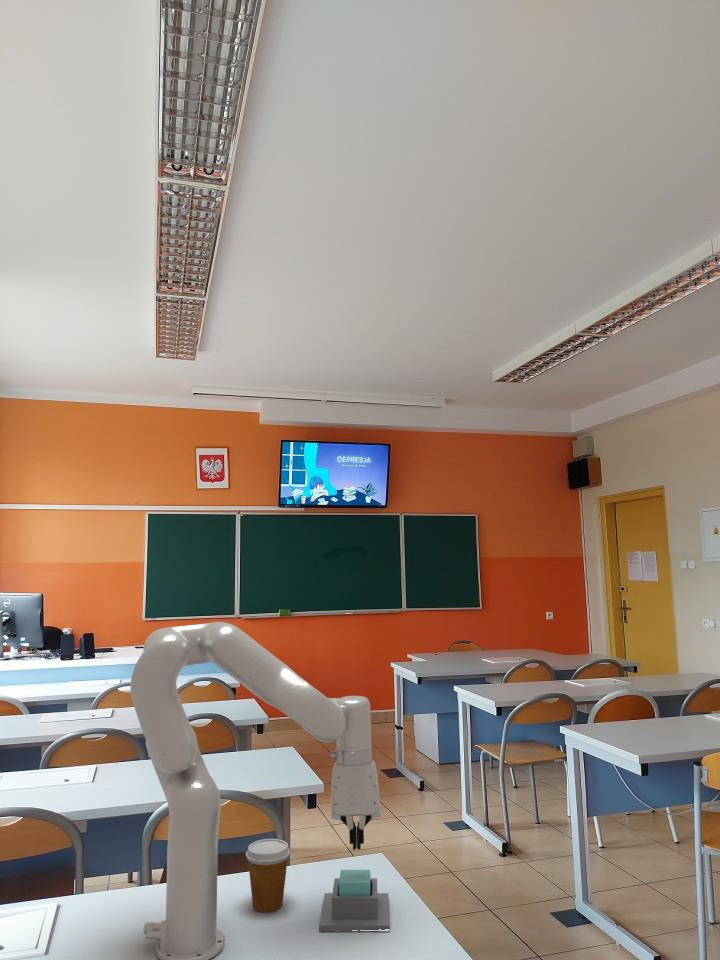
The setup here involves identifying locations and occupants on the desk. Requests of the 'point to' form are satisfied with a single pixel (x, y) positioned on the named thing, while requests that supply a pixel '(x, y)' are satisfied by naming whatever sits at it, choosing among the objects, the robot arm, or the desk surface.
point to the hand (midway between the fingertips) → (356, 847)
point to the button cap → (355, 883)
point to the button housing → (354, 910)
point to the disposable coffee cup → (267, 873)
